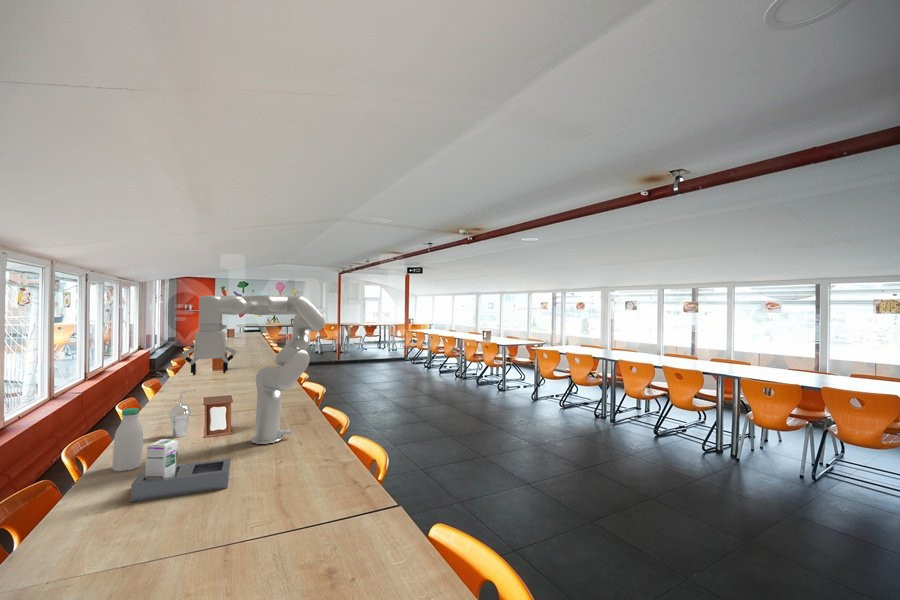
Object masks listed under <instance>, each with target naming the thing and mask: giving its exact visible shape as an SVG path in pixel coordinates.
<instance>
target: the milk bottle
mask: <svg viewBox="0 0 900 600" xmlns="http://www.w3.org/2000/svg"><path fill="white" fill-rule="evenodd" d="M139 415H140V408H137V407H129V408H124V409H122V411H121V418H122V419H121V422H120V424H119V426H118V428H117V429H116V431H115V433H114V434H115V435H114V440H113V450H112V451H113V452H112V454H113V455H112V467H111V469H112V471H114V472H127V470H128V471H132V470H136V469H137V468H139V467H141V465H142V458H143V447H144V446H143V444H144V443H143V441H144V429H143V426H142V424H141V422H140V419H139Z"/></svg>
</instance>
